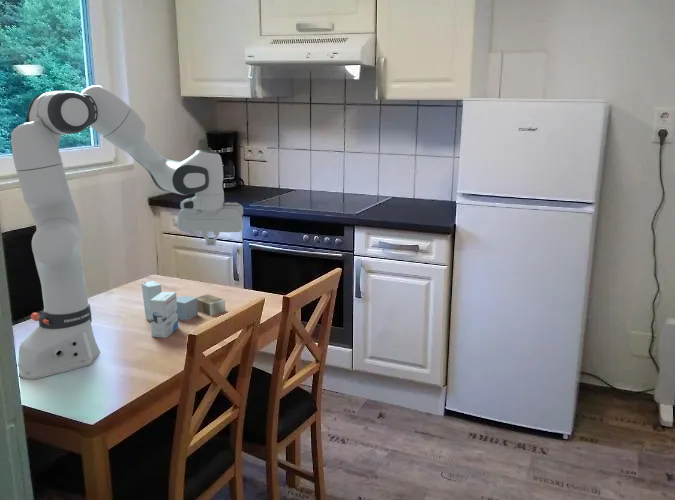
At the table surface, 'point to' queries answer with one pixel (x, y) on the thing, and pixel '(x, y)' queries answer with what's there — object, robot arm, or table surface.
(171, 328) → the ink box
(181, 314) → the slate block
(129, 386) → the table surface
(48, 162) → the robot arm
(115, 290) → the table surface
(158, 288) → the skincare box
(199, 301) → the walnut block
